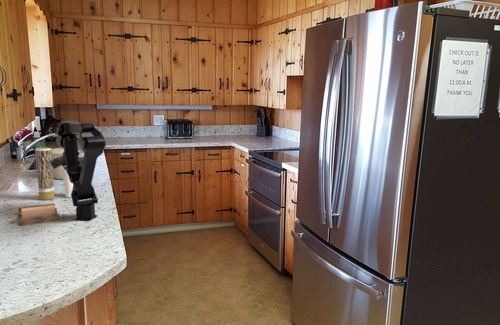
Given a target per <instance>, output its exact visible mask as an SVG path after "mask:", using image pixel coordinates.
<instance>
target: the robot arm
mask: <svg viewBox="0 0 500 325" xmlns="http://www.w3.org/2000/svg"><path fill="white" fill-rule="evenodd" d="M78 134H79V136H78ZM83 134H91V135H92V136H84V137H83ZM56 135H57V137H56V139H55V144H56V145H57V146H59V148H60V147H62V148H64V152H63V156H60V157H57V158H55V159H52V160H50V163H51V165H52V167H53V169H55V168H57V167H59V166H61V165H62V166H63V168H64V169H65V170H66V171H67V174H68V176H69V179H70V182H71V183H73V190H72V192H71V197H70V198H71V201H72V205H73V207H75V214H76V218H75V220H76V221H87V222H89V221H91V220H93V219H94V218H97V217H98V214H96V208H95V204H98V202H99V199H98V198H99V197H98V196H97V193H96V190H95V188H94V186H93V184H92V183H93V178H94V173H95V168H96V165H97V160H98V158H99V157H100V156H101V155H102V154H103V153H104V151H105V147H106V145H107V142H106V140H105V138H104V135H103V133H102V131H100V130H98V128H96V127H95V125H94V124H93V123H92V122H79V121H77V120H61V121H60V123H59V124H58V126H57V130H56ZM79 145H80V148H81V150H82V153H83V158H82V164H81V162H80V152H78V150H79ZM64 166H65V167H64Z"/></svg>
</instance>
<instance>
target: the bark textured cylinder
mask: <svg viewBox="0 0 500 325" xmlns="http://www.w3.org/2000/svg"><path fill="white" fill-rule="evenodd" d="M51 149H52V147H38V148H37V147H36V148H34V151H35V152H34V153H35V163H36V164H35V165H36V174H37V186H38V197H39V198H38V199H39V200H41V201H49V200H53V199H55V183H54V180H55V179H54V177H53V168H52V165H51V163H50V160H52V155H51Z"/></svg>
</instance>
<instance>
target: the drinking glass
mask: <svg viewBox="0 0 500 325" xmlns="http://www.w3.org/2000/svg"><path fill="white" fill-rule="evenodd" d="M62 177H63V179H62V183H63V187H64V195H65V196H64V197H66V198H69V199H70V198H72V197H71V192H72V190H73V183H71V182H70V179H69V176H68V174H67V171H66V170H65V169H64V168H63V167H62Z"/></svg>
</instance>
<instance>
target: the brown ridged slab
mask: <svg viewBox="0 0 500 325" xmlns="http://www.w3.org/2000/svg"><path fill="white" fill-rule="evenodd" d="M47 205H54V206H56V204H55V203H46V204H45V203H44V204H37V205H30V206H23V207H21V206H20V207H17V208H18V218H19V225H20V227H21V226H28V225H36V224H42V223H49V222H56V221H60V213H58V208H57V207H55V214H52V215H44V216H37V217H30V218H23V219H22V212H21V209H23V208H31V207H39V206H47Z"/></svg>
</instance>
